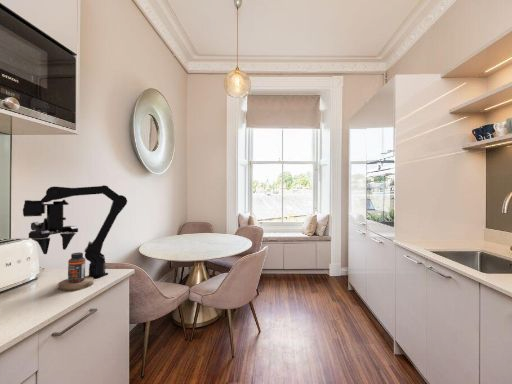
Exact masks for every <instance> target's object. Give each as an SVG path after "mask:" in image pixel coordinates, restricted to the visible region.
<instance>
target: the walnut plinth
mask: <svg viewBox="0 0 512 384" xmlns="http://www.w3.org/2000/svg"><path fill="white" fill-rule="evenodd" d="M93 285H94V278H93V277H89V276H88V275H85V279H84V280H83V281H80V282H75V283H70V282H68V278H66V279H64V280H61V281H59V282H58V284H57V287H58V289H57V290H59V291H61V292H72V291H74V292H75V291H79V290H83V289H86V288H89V287H92V286H93Z"/></svg>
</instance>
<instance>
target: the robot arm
mask: <svg viewBox="0 0 512 384" xmlns="http://www.w3.org/2000/svg"><path fill="white" fill-rule="evenodd" d="M101 194H102V195H104V196H105V197H107V198H108V199H110V200H111V201H112V202H111V205H110V209H109V212H108V213H107V216H105V220H104V221H103V224H102V225H101V227H100V229H99V231H98V233H97V235H96V236H95V238H94V239H93V241H91V240H89V241H88V244H87V246H86V247H85V248H84V251H83V253H84V258H85V260H86V261H88V262H89V264H88V265H89V266H88V274H87V276H89V277H93V279H96V278H97V279H99V278H102V277H104V276H106V275H109V272H106V258H105V255H104V254H103V253H101V252H102V248H103V246H104V245H103V244H104V242H105V241H106V238H107V236H108V234H109V232H110V230H111V229H112V227H113V225H114V223H115V221H116V219H117V217H118V215H119V214H120V213H121V211H123V209H124V208H125V206H126V205H127V203H128V200H127V199H128V198H127V197H126V195H125V196H124V195H122V194H118V193H117V192H115V191H114V190H113V189H111V188H110V187H109V186H108V185H104V184H103V185H99V186H98V185H97V186H83V187H67V186H66V187H65V186H51V187H48V189H47V190H46V192H45V196H44V197H42V198H41V199H40V200H31V199H26V200H24V204H23V208H22V215H23V217H24V218H25V217H28V218H29V217H42V216H43V214H46V217H44V218H43V222H39V221H33V222H31V223H30V229H31V230H30V232H29V233H28V239H31V240H32V241H36V242H37V244H38V245H39V247H40V250H41V251H42V253H43V255H47V254H48V252H49V247H50V242H51V237H50V235H51V236H52V235H57V234H59V235H60V236H61V239H62V240H61V241H62V245H61V246H62V250H67V248H68V246H69V244H70V242H71V240H72V239H73V238H74V236H75V235H76V234H77V233H78V232H79V227H78V226H77V225H65V226H64V221H66V220H67V218H66V216H65V217H64V206H68V205H69V202H68V201H67V200H66V199H67V198H71V197H75V196H90V195H101ZM62 199H63V200H62ZM57 200H58V201H57ZM51 201H53V202H52V203H49V202H51Z"/></svg>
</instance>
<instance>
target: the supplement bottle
mask: <svg viewBox="0 0 512 384" xmlns="http://www.w3.org/2000/svg"><path fill="white" fill-rule="evenodd" d="M70 255H71V256H70V257H71V258H70V259H68V261H67V265H68V266H67V279H68V282H70V283H75V282H80V281H83V280H84V279H85V276H86V258H85V257H84V252H73V253H71V254H70Z"/></svg>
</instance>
